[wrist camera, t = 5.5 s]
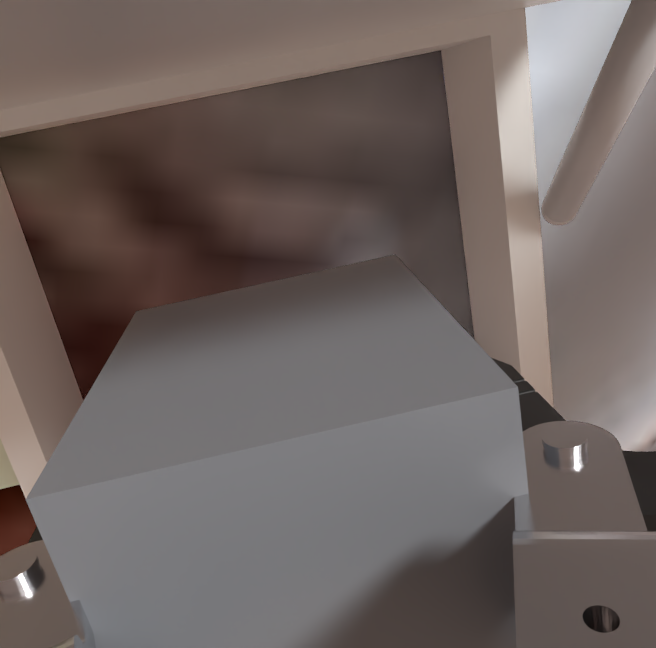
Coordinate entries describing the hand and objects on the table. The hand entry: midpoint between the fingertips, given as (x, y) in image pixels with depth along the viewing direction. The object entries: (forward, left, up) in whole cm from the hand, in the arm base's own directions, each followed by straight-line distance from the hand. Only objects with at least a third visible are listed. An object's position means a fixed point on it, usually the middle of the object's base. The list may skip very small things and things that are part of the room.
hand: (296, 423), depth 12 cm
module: (0, 0, -1) cm, 1 cm away
